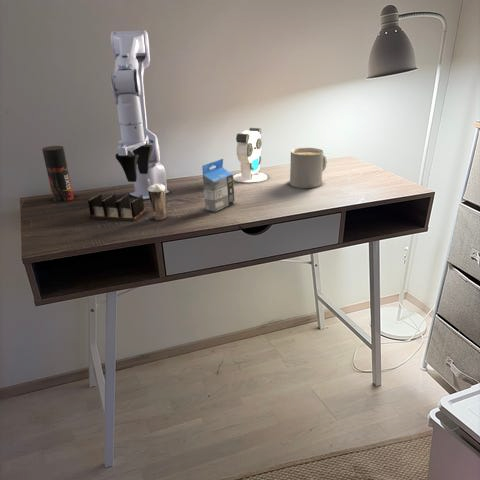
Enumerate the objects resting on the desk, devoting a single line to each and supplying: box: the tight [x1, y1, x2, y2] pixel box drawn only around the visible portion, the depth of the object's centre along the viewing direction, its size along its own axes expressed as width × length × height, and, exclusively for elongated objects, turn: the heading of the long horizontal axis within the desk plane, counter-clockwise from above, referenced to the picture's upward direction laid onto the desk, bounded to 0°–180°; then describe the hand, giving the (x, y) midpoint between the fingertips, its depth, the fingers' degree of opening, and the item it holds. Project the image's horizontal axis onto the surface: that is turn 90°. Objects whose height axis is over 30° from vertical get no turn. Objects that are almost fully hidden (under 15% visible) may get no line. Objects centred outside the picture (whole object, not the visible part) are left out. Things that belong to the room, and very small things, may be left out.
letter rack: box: [87, 192, 146, 222], centre depth 139 cm, size 13×7×5 cm, turn 76°
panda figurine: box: [233, 127, 268, 184], centre depth 165 cm, size 12×11×15 cm
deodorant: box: [41, 145, 74, 203], centre depth 152 cm, size 6×6×15 cm
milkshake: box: [147, 179, 167, 221], centre depth 135 cm, size 4×5×10 cm
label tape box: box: [201, 158, 235, 213], centre depth 141 cm, size 9×4×12 cm, turn 143°
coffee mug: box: [289, 147, 328, 189], centre depth 160 cm, size 13×10×10 cm
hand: (138, 177), depth 135 cm, fingers open, 7 cm apart
